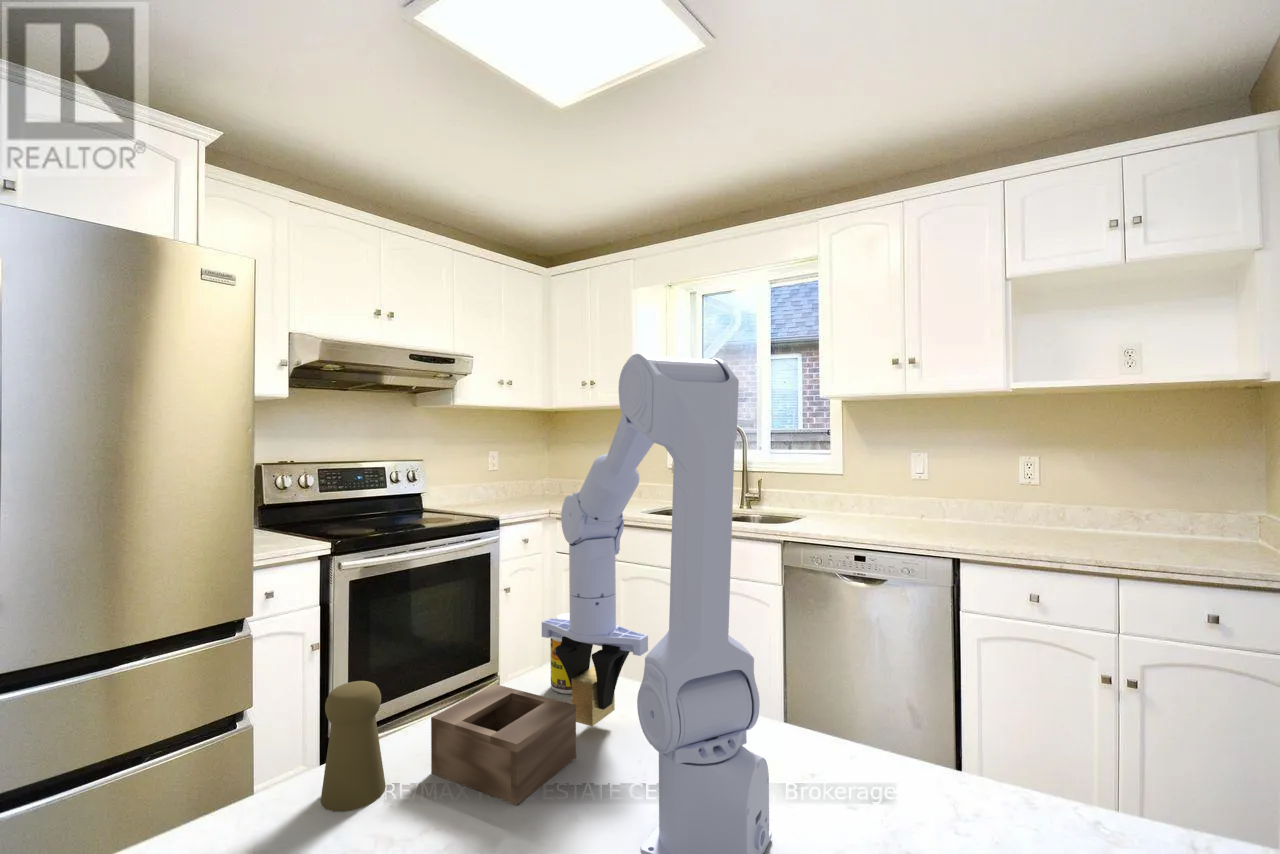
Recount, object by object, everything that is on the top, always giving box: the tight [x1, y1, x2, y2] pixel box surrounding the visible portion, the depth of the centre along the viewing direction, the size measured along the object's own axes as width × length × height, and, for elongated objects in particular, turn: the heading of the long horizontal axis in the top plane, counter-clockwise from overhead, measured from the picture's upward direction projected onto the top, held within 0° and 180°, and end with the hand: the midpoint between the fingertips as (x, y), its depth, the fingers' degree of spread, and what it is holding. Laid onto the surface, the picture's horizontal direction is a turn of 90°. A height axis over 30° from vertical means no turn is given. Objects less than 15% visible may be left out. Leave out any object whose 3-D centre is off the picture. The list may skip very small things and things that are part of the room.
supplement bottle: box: [550, 612, 572, 695], centre depth 89 cm, size 6×6×10 cm
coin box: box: [430, 683, 577, 806], centre depth 68 cm, size 12×10×6 cm
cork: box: [320, 680, 387, 813], centre depth 63 cm, size 6×6×11 cm
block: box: [571, 665, 616, 727], centre depth 76 cm, size 3×5×5 cm, turn 151°
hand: (593, 702), depth 76 cm, fingers closed on block, 3 cm apart
